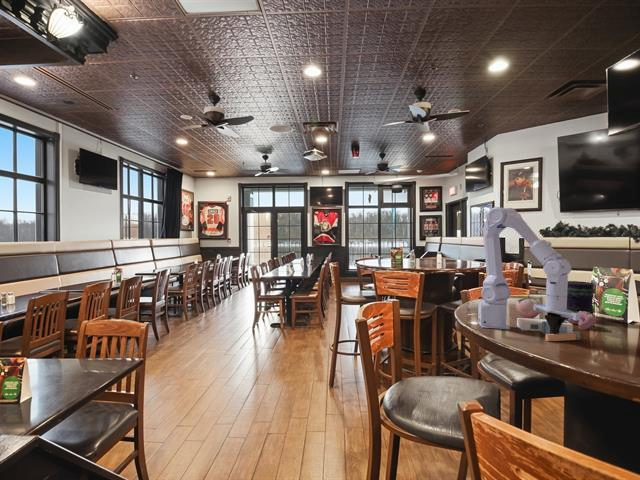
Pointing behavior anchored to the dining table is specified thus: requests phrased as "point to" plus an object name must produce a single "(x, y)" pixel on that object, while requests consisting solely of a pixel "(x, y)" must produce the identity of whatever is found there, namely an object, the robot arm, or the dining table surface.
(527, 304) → the decorative fruit
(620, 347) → the dining table surface
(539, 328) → the power strip
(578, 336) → the wooden block bar
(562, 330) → the plug
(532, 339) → the dining table surface
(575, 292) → the storage jar
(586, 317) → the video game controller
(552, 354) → the dining table surface
